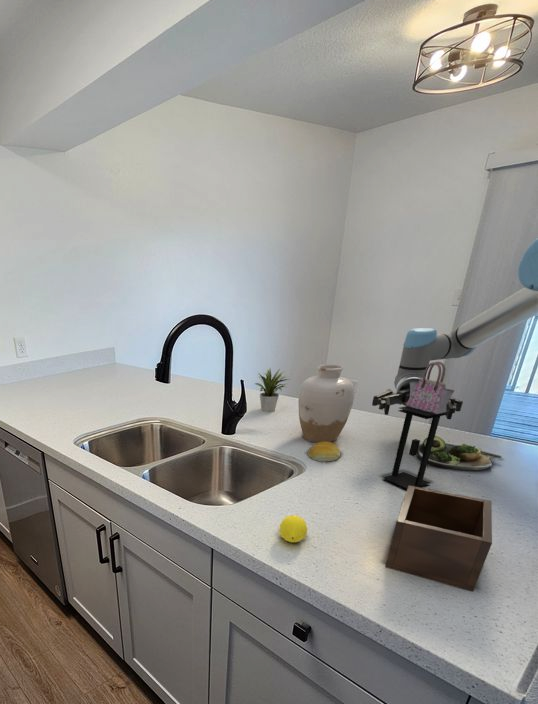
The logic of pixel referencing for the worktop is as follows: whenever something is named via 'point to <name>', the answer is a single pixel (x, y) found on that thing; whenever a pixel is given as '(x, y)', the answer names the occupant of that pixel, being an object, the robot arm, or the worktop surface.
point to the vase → (325, 404)
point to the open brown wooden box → (442, 537)
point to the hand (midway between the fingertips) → (418, 411)
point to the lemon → (293, 528)
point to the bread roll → (324, 451)
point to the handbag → (426, 404)
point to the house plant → (270, 391)
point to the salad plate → (456, 456)
